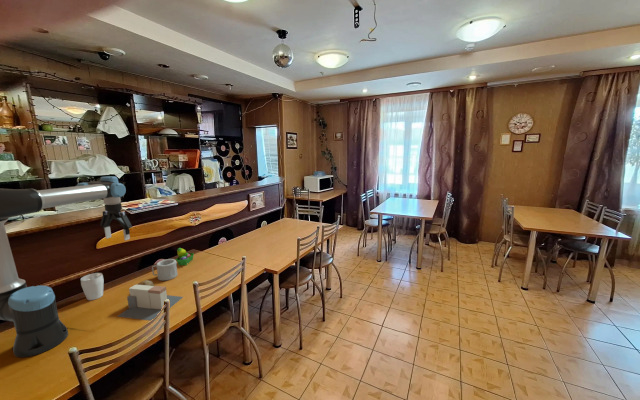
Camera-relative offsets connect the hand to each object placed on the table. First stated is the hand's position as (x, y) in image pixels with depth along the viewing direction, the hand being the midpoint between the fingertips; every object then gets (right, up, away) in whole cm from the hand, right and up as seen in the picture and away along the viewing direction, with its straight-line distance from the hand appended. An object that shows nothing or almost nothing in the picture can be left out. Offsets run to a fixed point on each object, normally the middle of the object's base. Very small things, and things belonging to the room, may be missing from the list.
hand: (117, 238), depth 147 cm
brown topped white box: (+37, -32, -20) cm, 53 cm away
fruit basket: (+22, -22, +32) cm, 45 cm away
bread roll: (+19, -30, -5) cm, 36 cm away
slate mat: (+33, -32, -19) cm, 50 cm away
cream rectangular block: (+29, -31, -18) cm, 46 cm away
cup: (-4, -30, -10) cm, 32 cm away
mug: (+21, -26, +12) cm, 36 cm away
